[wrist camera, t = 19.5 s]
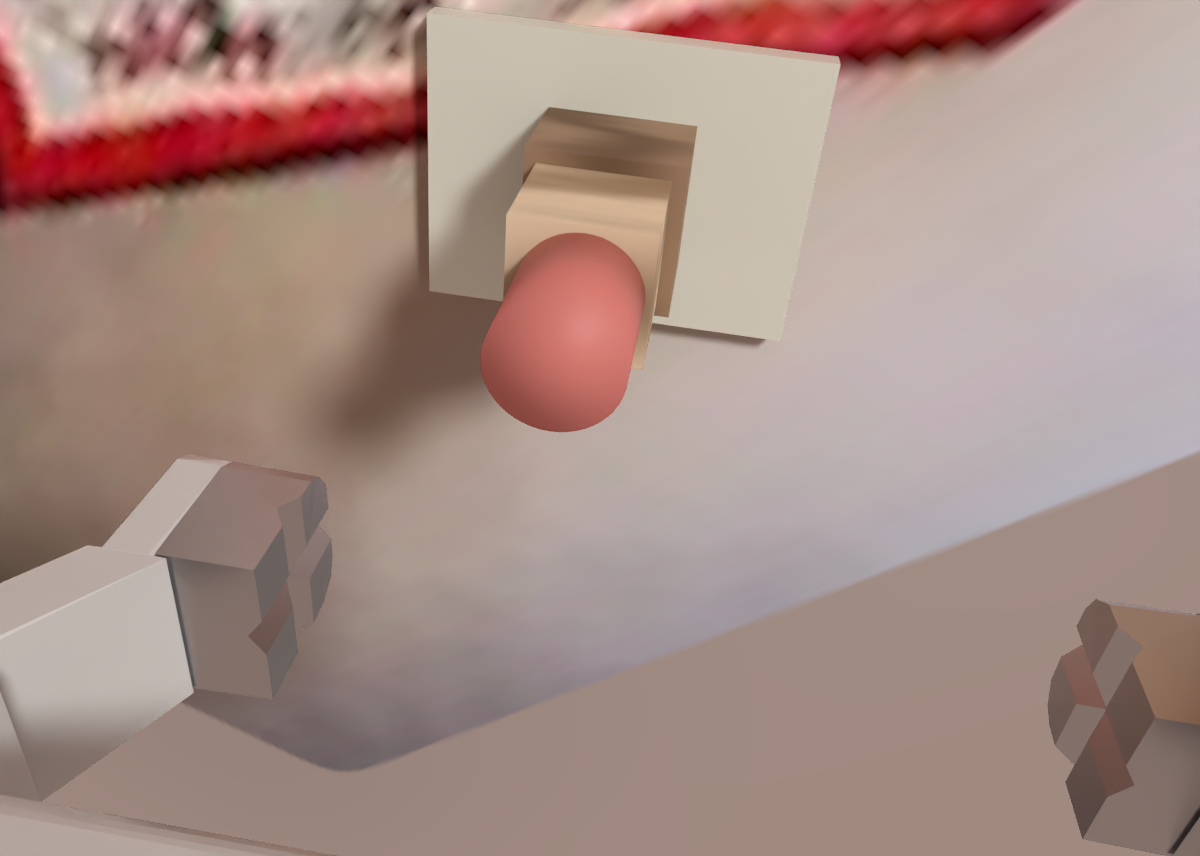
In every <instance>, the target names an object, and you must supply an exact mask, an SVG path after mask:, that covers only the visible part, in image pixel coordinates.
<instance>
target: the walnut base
mask: <svg viewBox="0 0 1200 856" xmlns="http://www.w3.org/2000/svg"><path fill="white" fill-rule="evenodd" d="M697 127H698V126H692V125H684V124H676V123H669V122H661V121H653V120H646V119H638V118H630V117H623V116H615V115H607V114H600V113H592V112H584V111H576V110H569V109H561V108H553V107H549V108H548V109H547V111H546V113H545V114H544V116H543V117H542V119H541V121H540V122H539V124H538V126H537V127H536V129H535V130H534V132H533V134H532V135H531V137H530V138H529V140H528V142H527V143H526V145H525V147H524V164H523V184H524V183H525V181H526V179H527V177H528V176H529V174H530V172H531V170H532V169H533V167H534V165H535V163H540V164H547V165H555V166H562V167H570V168H577V169H585V170H592V171H600V172H607V173H615V174H622V175H629V176H637V177H644V178H652V179H659V180H667V181H672V187H671V195H670V202H669V210H668V217H667V225H666V232H665V240H664V247H663V255H662V262H661V270H660V277H659V285H658V292H657V300H656V307H655V312H654V316H661V317H668V318H669V312H670V306H671V301H672V295H673V289H674V283H675V278H676V272H677V266H678V260H679V253H680V246H681V239H682V232H683V225H684V218H685V211H686V204H687V197H688V190H689V183H690V176H691V169H692V162H693V155H694V148H695V141H696V134H697Z"/></svg>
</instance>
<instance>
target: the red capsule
mask: <svg viewBox="0 0 1200 856" xmlns="http://www.w3.org/2000/svg"><path fill="white" fill-rule="evenodd" d="M644 306H645V287H644V283H643V279H642V277H641V274H640V272H639V270H638V268H637V266H636V265H635V263H634V262H633V261H632V259H631V258H630V257H629V256H628V255H627V254H626V253H625V252H624V251H623V250H622V249H621V248H619V247H618V246H617V245H615V244H613V243H612V242H610V241H608V240H606V239H604V238H602V237H598V236H595V235H592V234H587V233H564V234H559V235H556V236H552V237H550V238H548V239H546V240H543V241H542V242H540V243H539V244H537V245H536V246H535V247H534V248H532V249H531V250H530V251H529V253H528V254H527V255H526V256H525V258H524V259H523V261H522V262H521V264H520V266H519V268H518V271H517V273H516V275H515V277H514V279H513V281H512V283H511V285H510V287H509V289H508V291H507V293H506V295H505V297H504V299H503V302H502V304H501V306H500V308H499V310H498V312H497V314H496V316H495V318H494V320H493V322H492V324H491V326H490V328H489V330H488V333H487V335H486V337H485V339H484V342H483V345H482V349H481V356H480V363H481V371H482V376H483V379H484V382H485V384H486V386H487V388H488V390H489V392H490V394H491V395H492V397H493V398H494V400H495V401H496V402H497V403H498V404H499V405H500V406H501V407H502V408H503V409H504V410H505V411H506V412H507V413H509V414H510V415H511V416H513V417H514V418H516V419H517V420H519V421H521V422H523V423H525V424H527V425H529V426H532V427H535V428H538V429H542V430H547V431H554V432H570V431H578V430H582V429H585V428H588V427H591V426H593V425H595V424H597V423H599V422H601V421H602V420H604V419H605V418H606V417H608V416H609V415H610V414H611V413H612V412H613V411H614V410H615V409H616V407H617V406H618V405H619V404H620V402H621V400H622V398H623V396H624V393H625V391H626V388H627V383H628V379H629V374H630V370H631V365H632V361H633V356H634V352H635V347H636V343H637V338H638V334H639V329H640V324H641V320H642V315H643V311H644Z"/></svg>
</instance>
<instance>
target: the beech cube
mask: <svg viewBox="0 0 1200 856" xmlns="http://www.w3.org/2000/svg"><path fill="white" fill-rule="evenodd" d="M671 187H672V181H667V180H659V179H652V178H644V177H637V176H629V175H622V174H615V173H607V172H600V171H592V170H585V169H577V168H570V167H562V166H555V165H547V164H540V163H535V165H534V167H533V169H532V170H531V172H530V174H529V176H528V177H527V179H526V181H525V183H524V184H523V186H522V188H521V190H520V192H519V193H518V195H517V197H516V199H515V200H514V202H513V204H512V206H511V207H510V209H509V211H508V213H507V214H506V238H505V265H504V292H503V299H504V297H505V295H506V293H507V291H508V289H509V287H510V285H511V283H512V281H513V279H514V277H515V275H516V273H517V271H518V268H519V266H520V264H521V262H522V261H523V259H524V258H525V256H526V255H527V254H528V253H529V251H530V250H531V249H532V248H534V247H535V246H536V245H537V244H539V243H540V242H542V241H543V240H546V239H548V238H550V237H552V236H556V235H559V234H564V233H587V234H592V235H595V236H598V237H602V238H604V239H606V240H608V241H610V242H612V243H613V244H615V245H617V246H618V247H619V248H621V249H622V250H623V251H624V252H625V253H626V254H627V255H628V256H629V257H630V258H631V259H632V261H633V262H634V263H635V265H636V266H637V268H638V270H639V272H640V274H641V277H642V279H643V283H644V287H645V306H644V311H643V315H642V320H641V324H640V329H639V334H638V338H637V343H636V347H635V352H634V356H633V361H632V365H631V368H634V369H640V370H643V366H644V361H645V356H646V351H647V346H648V341H649V336H650V331H651V326H652V322H653V317H654V312H655V307H656V300H657V292H658V285H659V277H660V270H661V262H662V255H663V247H664V240H665V232H666V225H667V217H668V210H669V202H670V195H671Z"/></svg>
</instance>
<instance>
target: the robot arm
mask: <svg viewBox="0 0 1200 856" xmlns="http://www.w3.org/2000/svg"><path fill="white" fill-rule="evenodd" d="M327 509H328V500H327V492H326V484H325V482H323V481H322V480H321V479H320V478H319V477H316V476H311V475H305V474H300V473H294V472H288V471H283V470H277V469H272V468H266V467H261V466H255V465H250V464H244V463H238V462H228V461H224V460H218V459H212V458H206V457H201V456H195V455H186V456H183V457H181V458H178V459H177V460H175V461H174V462H173V464H172V465H171V466H170V467H169V468H168V470H167V471H166V472H165V473H164V474H163V475H162V477H161V478H160V479H159V480H158V481H157V482H156V484H155V485H154V486H153V487H152V488H151V490H150V491H149V492H148V493H147V494H146V495H145V497H144V498H143V499H142V500H141V501H140V502H139V504H138V505H137V506H136V507H135V508H134V509H133V511H132V512H131V513H130V514H129V515H128V517H127V518H126V519H125V520H124V521H123V522H122V524H121V525H120V526H119V527H118V528H117V529H116V531H115V532H114V533H113V534H112V535H111V537H110V538H109V539H108V540H107V541H106V542H105V544H104V545H103V546H102V547H96V546H89V545H87V546H85V547H83V548H80V549H78V550H76V551H73V552H71V553H69V554H66V555H64V556H62V557H59V558H57V559H55V560H53V561H50V562H48V563H46V564H43V565H41V566H39V567H36V568H34V569H32V570H30V571H27V572H25V573H23V574H20V575H18V576H16V577H13V578H11V579H9V580H7V581H4V582H2V583H0V856H336V855H331V854H325V853H320V852H314V851H309V850H303V849H297V848H292V847H287V846H281V845H276V844H270V843H265V842H259V841H254V840H248V839H243V838H237V837H231V836H226V835H221V834H215V833H209V832H204V831H199V830H193V829H188V828H182V827H176V826H171V825H166V824H160V823H155V822H149V821H144V820H138V819H132V818H127V817H122V816H116V815H111V814H105V813H99V812H94V811H89V810H82V809H78V808H72V807H67V806H61V805H55V804H50V803H44V802H41V801H43V800H44V799H46V798H47V797H48V796H50V795H51V794H53V793H54V792H55V791H57V790H58V789H60V788H61V787H62V786H64V785H65V784H67V783H68V782H69V781H71V780H72V779H74V778H75V777H76V776H78V775H79V774H81V773H82V772H83V771H85V770H86V769H88V768H89V767H90V766H92V765H93V764H95V763H96V762H97V761H99V760H100V759H102V758H103V757H104V756H106V755H107V754H109V753H110V752H111V751H113V750H114V749H116V748H117V747H118V746H120V745H121V744H122V743H124V742H125V741H127V740H128V739H129V738H131V737H132V736H134V735H135V734H136V733H138V732H139V731H141V730H142V729H143V728H145V727H146V726H148V725H149V724H150V723H152V722H153V721H155V720H156V719H157V718H159V717H160V716H162V715H163V714H165V713H166V712H167V711H169V710H170V709H172V708H173V707H174V706H176V705H177V704H179V703H180V702H181V701H183V700H184V699H186V698H187V697H188V696H190V695H191V694H193V692H194V690H193V688H196V689H203V690H210V691H217V692H224V693H231V694H238V695H245V696H252V697H258V698H265V699H272V700H273V698H274V696H275V694H276V692H277V691H278V689H279V687H280V685H281V683H282V681H283V679H284V677H285V676H286V674H287V672H288V670H289V668H290V666H291V664H292V662H293V661H294V659H295V657H296V655H297V653H298V650H297V640H296V632H298V631H299V630H301V629H303V628H304V627H306V626H308V625H310V624H311V623H313V622H314V621H315V619H316V617H317V615H318V613H319V611H320V608H321V606H322V604H323V602H324V599H325V595H326V592H327V588H328V585H329V581H330V577H331V567H332V544H331V538H330V537H329V536H328V535H327V534H326V532H325V531H324V530H323V529H322V528H321V526H320V525H319V523H320V521H321V520H322V518H323V516H324V514H325V513H326V511H327ZM1077 629H1078V632H1079V635H1080V638H1081V641H1082V644H1083V645H1081V646H1079V647H1077V648H1076V649H1074V650H1072V651H1070V652H1069V653H1067V654H1065V655H1063V656H1062V657H1061V659H1060V661H1059V663H1058V666H1057V668H1056V670H1055V672H1054V675H1053V677H1052V679H1051V685H1050V692H1049V699H1048V714H1049V725H1050V729H1051V733H1052V736H1053V740H1054V744H1055V746H1056V747H1057V748H1058V749H1059V750H1060V751H1061V752H1062V753H1063V754H1064V755H1065V756H1066V757H1067V758H1068V759H1069V760H1070V761H1071V762H1072V763H1073V764H1074V767H1073V769H1072V771H1071V773H1070V775H1069V776H1068V778H1067V780H1066V785H1067V789H1068V792H1069V795H1070V799H1071V802H1072V805H1073V809H1074V812H1075V815H1076V819H1077V822H1078V826H1079V829H1080V832H1081V836H1082V839H1085V840H1090V841H1095V842H1100V843H1105V844H1110V845H1115V846H1120V847H1125V848H1130V849H1135V850H1140V851H1145V852H1150V853H1155V854H1160V855H1166V856H1200V613H1198V614H1191V613H1185V612H1179V611H1172V610H1165V609H1159V608H1152V607H1146V606H1139V605H1132V604H1125V603H1119V602H1112V601H1106V600H1099V599H1096V600H1094V601H1093V602H1092V603H1091V604H1090V605H1089V606H1088V607H1087V608H1086V609H1085V611H1084V613H1083V615H1082V617H1081V619H1080V621H1079V622H1078V624H1077Z"/></svg>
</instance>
